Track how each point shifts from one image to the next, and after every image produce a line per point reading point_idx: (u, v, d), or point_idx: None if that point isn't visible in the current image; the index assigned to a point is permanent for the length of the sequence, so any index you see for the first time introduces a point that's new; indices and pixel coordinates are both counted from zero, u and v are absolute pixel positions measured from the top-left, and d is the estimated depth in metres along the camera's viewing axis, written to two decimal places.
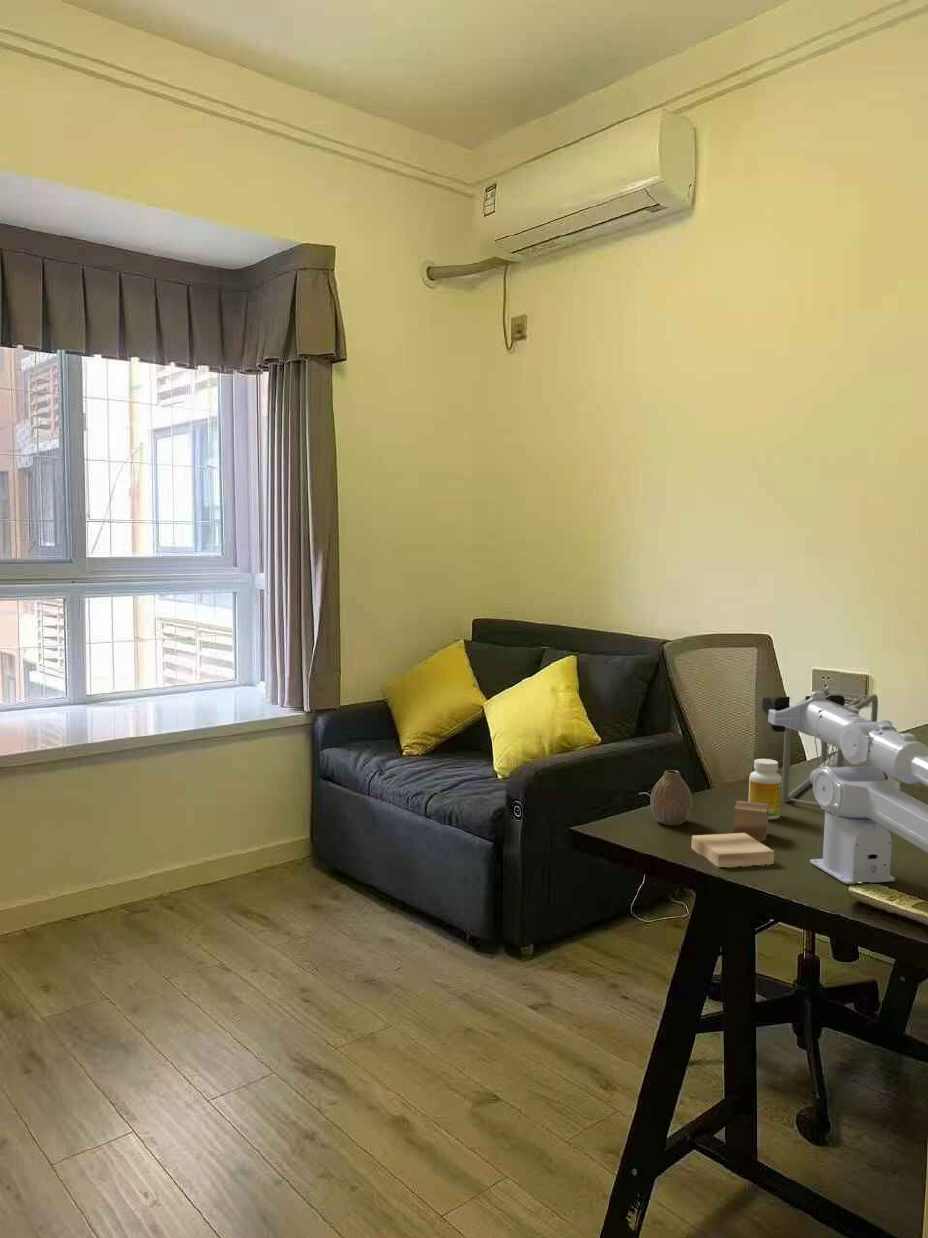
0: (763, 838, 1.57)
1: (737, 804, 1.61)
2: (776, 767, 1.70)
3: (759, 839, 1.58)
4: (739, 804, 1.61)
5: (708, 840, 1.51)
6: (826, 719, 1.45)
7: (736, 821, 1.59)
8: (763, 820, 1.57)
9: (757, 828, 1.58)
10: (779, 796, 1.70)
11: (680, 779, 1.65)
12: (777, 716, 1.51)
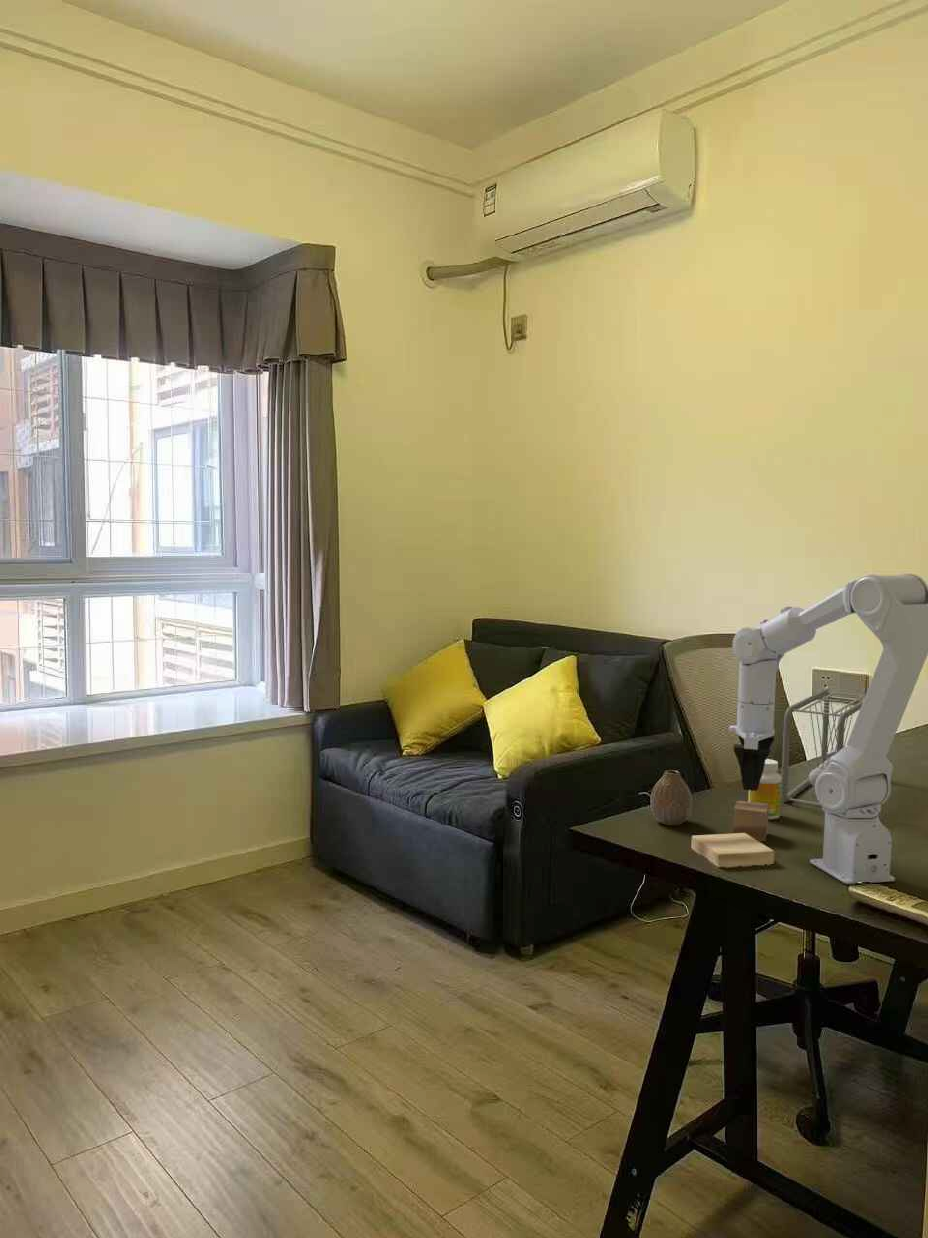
0: (763, 838, 1.57)
1: (737, 804, 1.61)
2: (776, 767, 1.70)
3: (759, 839, 1.58)
4: (739, 804, 1.61)
5: (708, 840, 1.51)
6: (739, 690, 1.58)
7: (736, 821, 1.59)
8: (763, 820, 1.57)
9: (757, 828, 1.58)
10: (779, 796, 1.70)
11: (680, 779, 1.65)
12: None
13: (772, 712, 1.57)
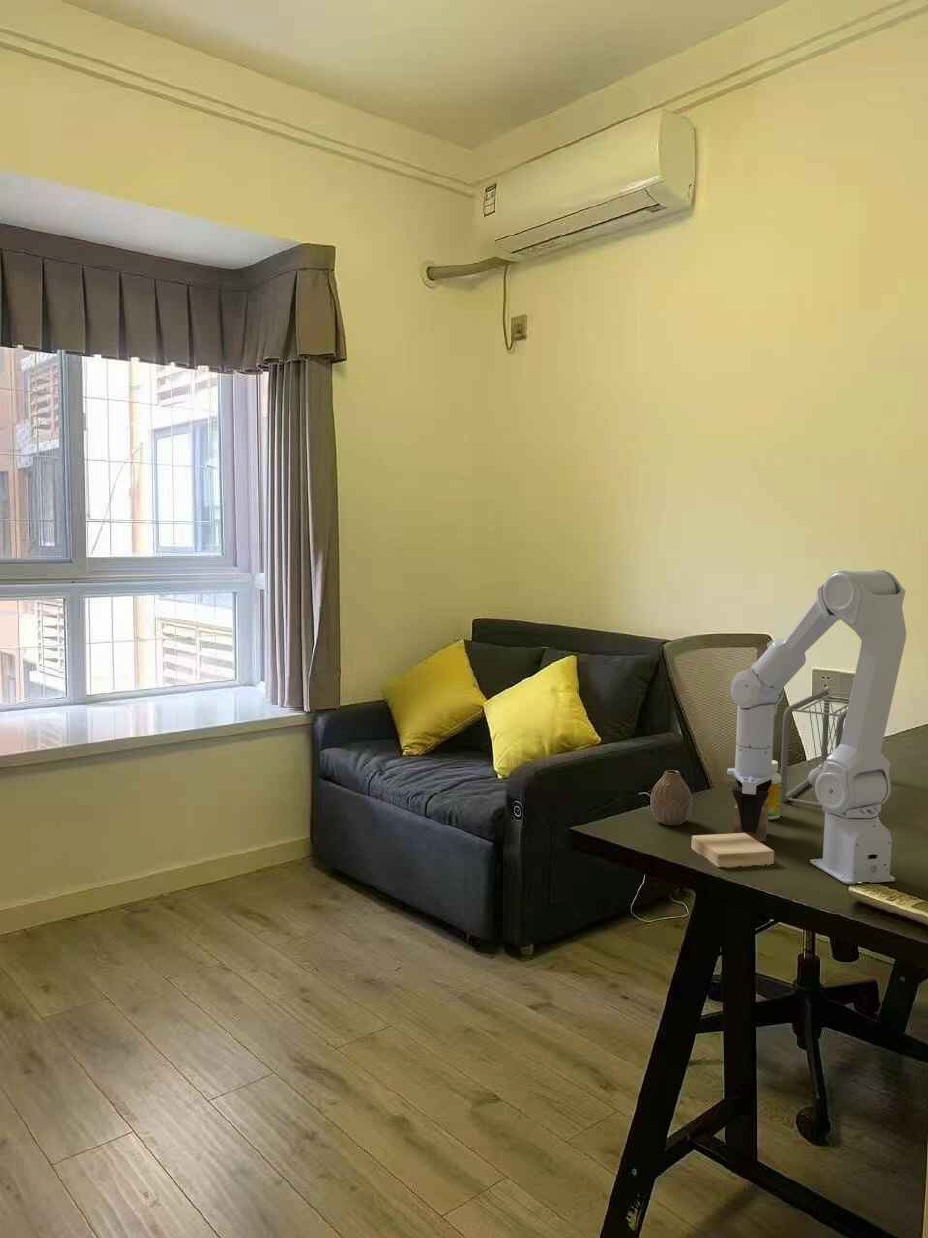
0: (763, 837, 1.57)
1: None
2: (776, 767, 1.70)
3: (759, 838, 1.58)
4: None
5: (708, 840, 1.51)
6: (737, 733, 1.59)
7: (736, 820, 1.59)
8: (763, 819, 1.57)
9: (757, 828, 1.58)
10: (779, 796, 1.70)
11: (680, 779, 1.65)
12: None
13: (770, 756, 1.57)
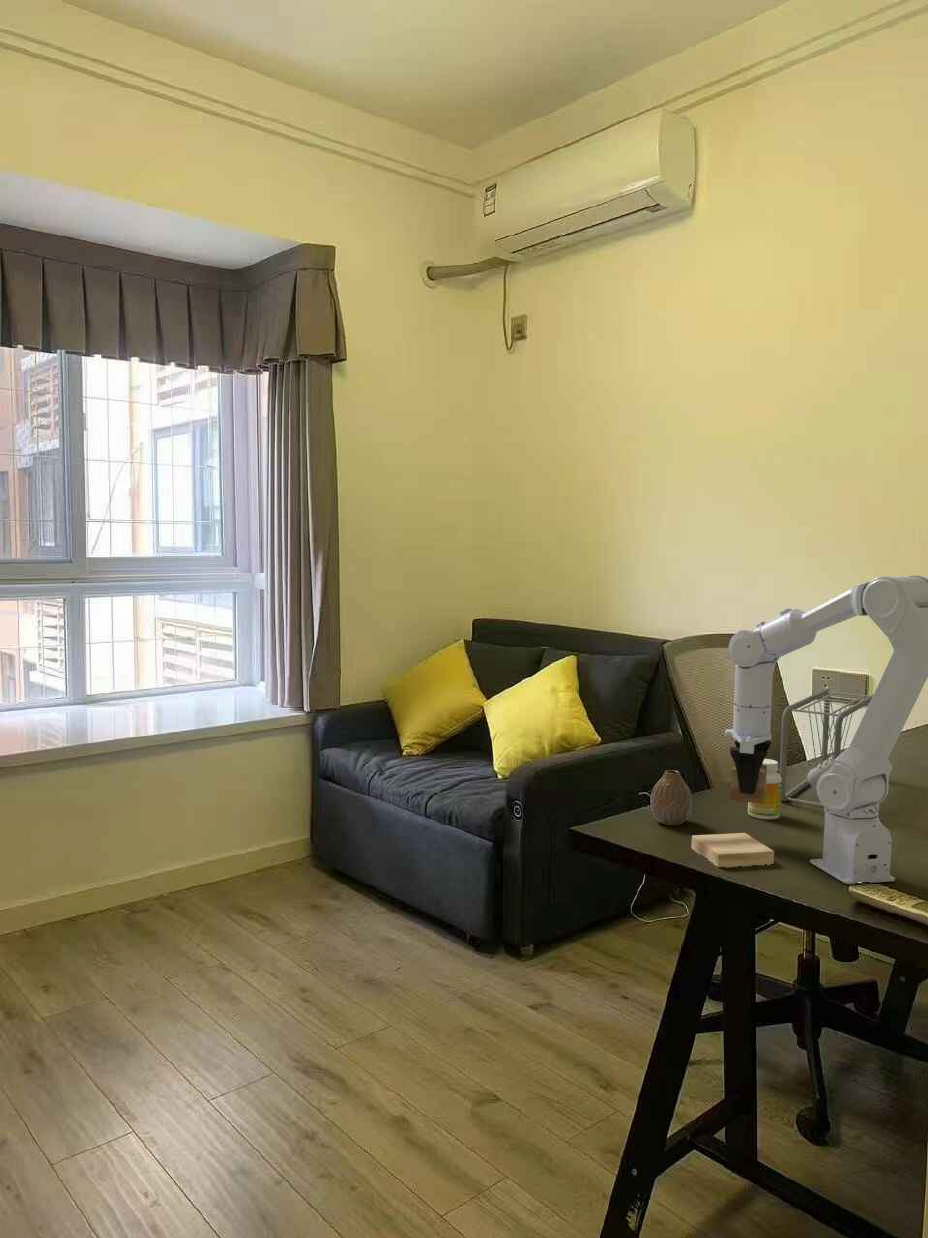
0: (761, 799, 1.54)
1: (735, 766, 1.58)
2: (776, 767, 1.70)
3: (757, 800, 1.55)
4: None
5: (708, 840, 1.51)
6: (735, 694, 1.56)
7: (734, 782, 1.56)
8: (761, 781, 1.54)
9: None
10: (779, 796, 1.70)
11: (680, 779, 1.65)
12: None
13: (768, 716, 1.54)
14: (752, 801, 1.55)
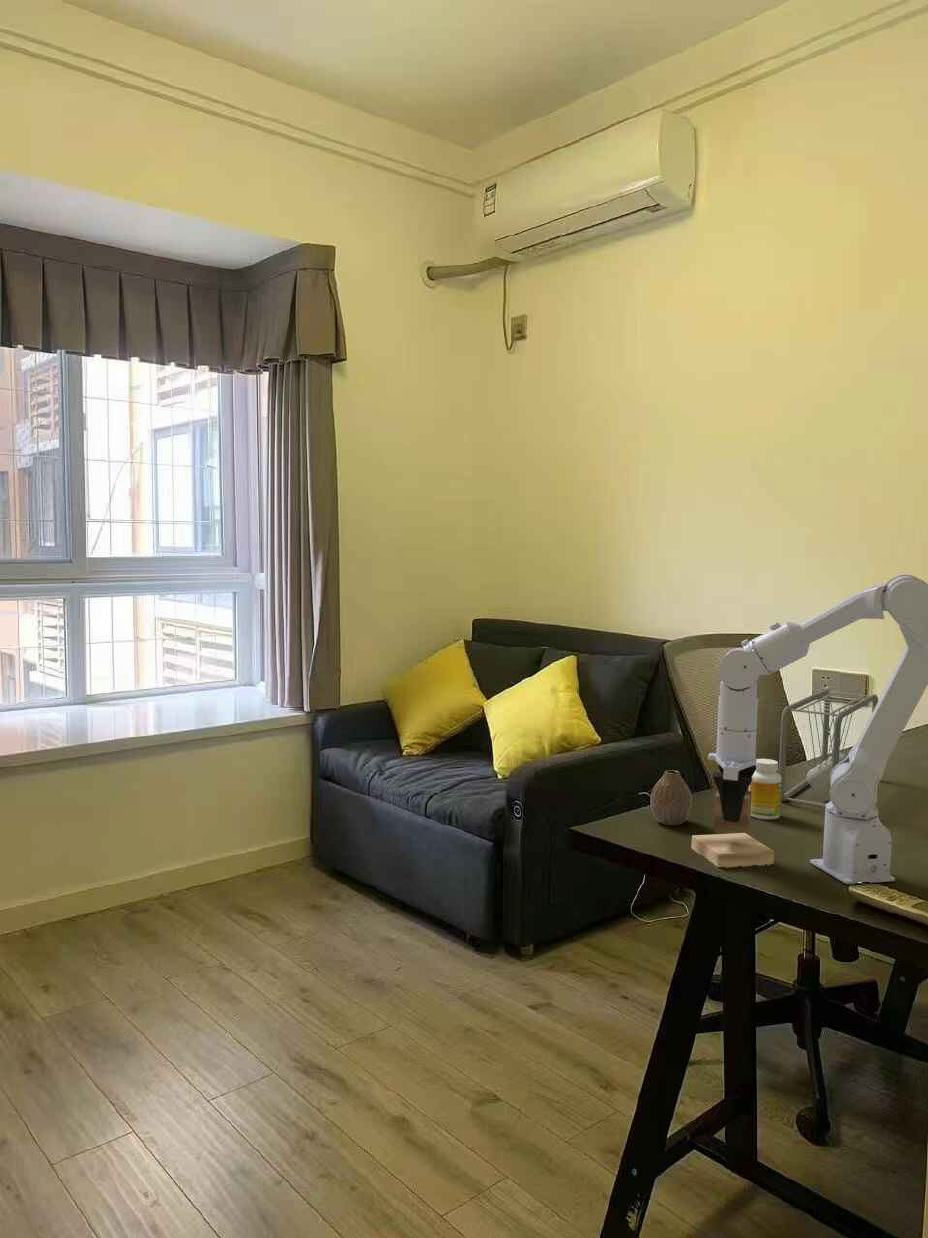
0: (745, 828, 1.47)
1: None
2: (776, 767, 1.70)
3: (741, 829, 1.47)
4: None
5: (708, 840, 1.51)
6: (726, 718, 1.46)
7: (717, 809, 1.48)
8: (745, 808, 1.46)
9: None
10: (779, 796, 1.70)
11: (680, 779, 1.65)
12: None
13: (754, 739, 1.47)
14: (736, 829, 1.47)
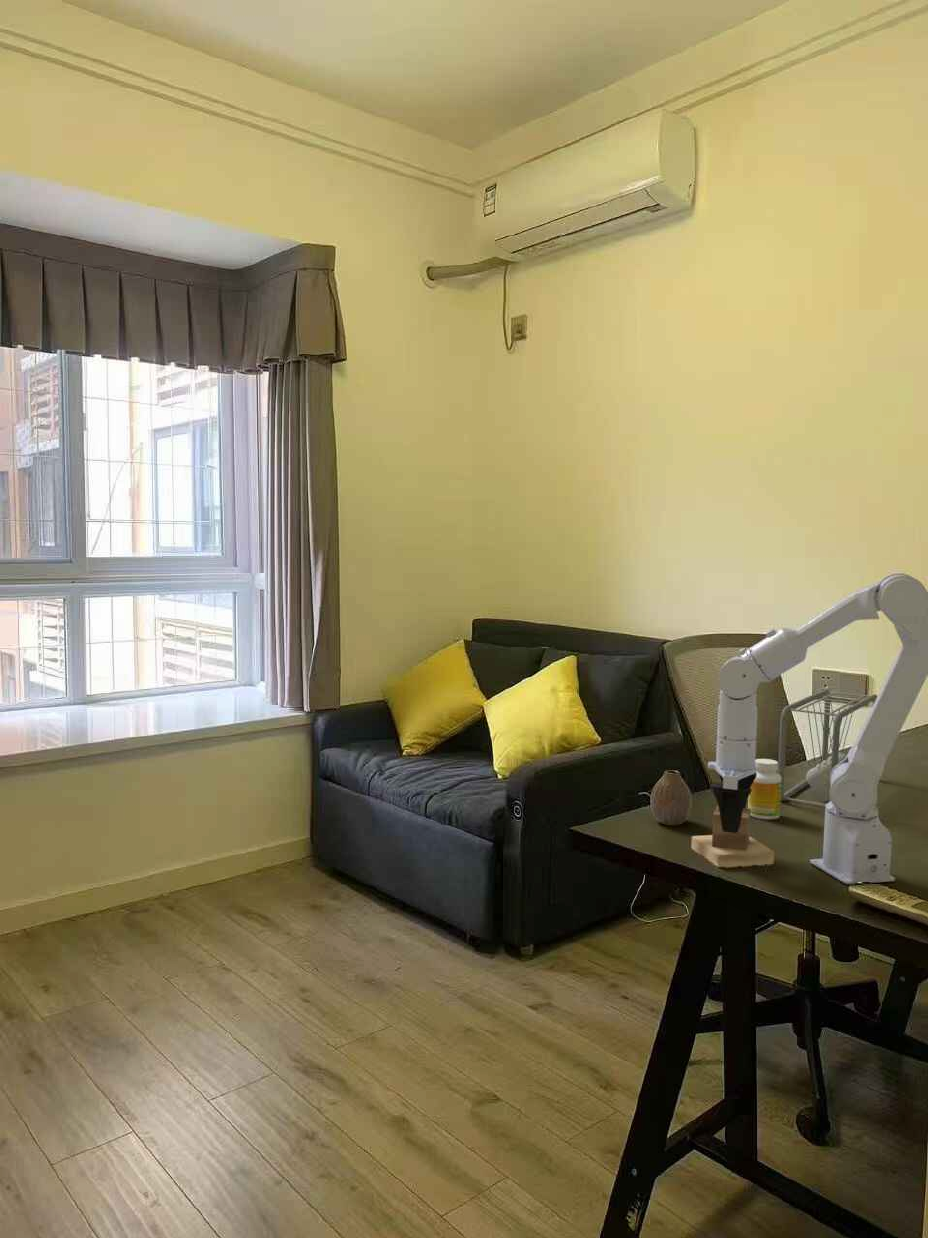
0: (744, 846, 1.47)
1: (717, 809, 1.50)
2: (776, 767, 1.70)
3: (740, 847, 1.47)
4: None
5: (708, 841, 1.51)
6: (725, 727, 1.46)
7: (715, 827, 1.48)
8: (744, 826, 1.46)
9: (737, 836, 1.47)
10: (779, 796, 1.70)
11: (680, 779, 1.65)
12: None
13: (753, 748, 1.47)
14: (735, 848, 1.47)
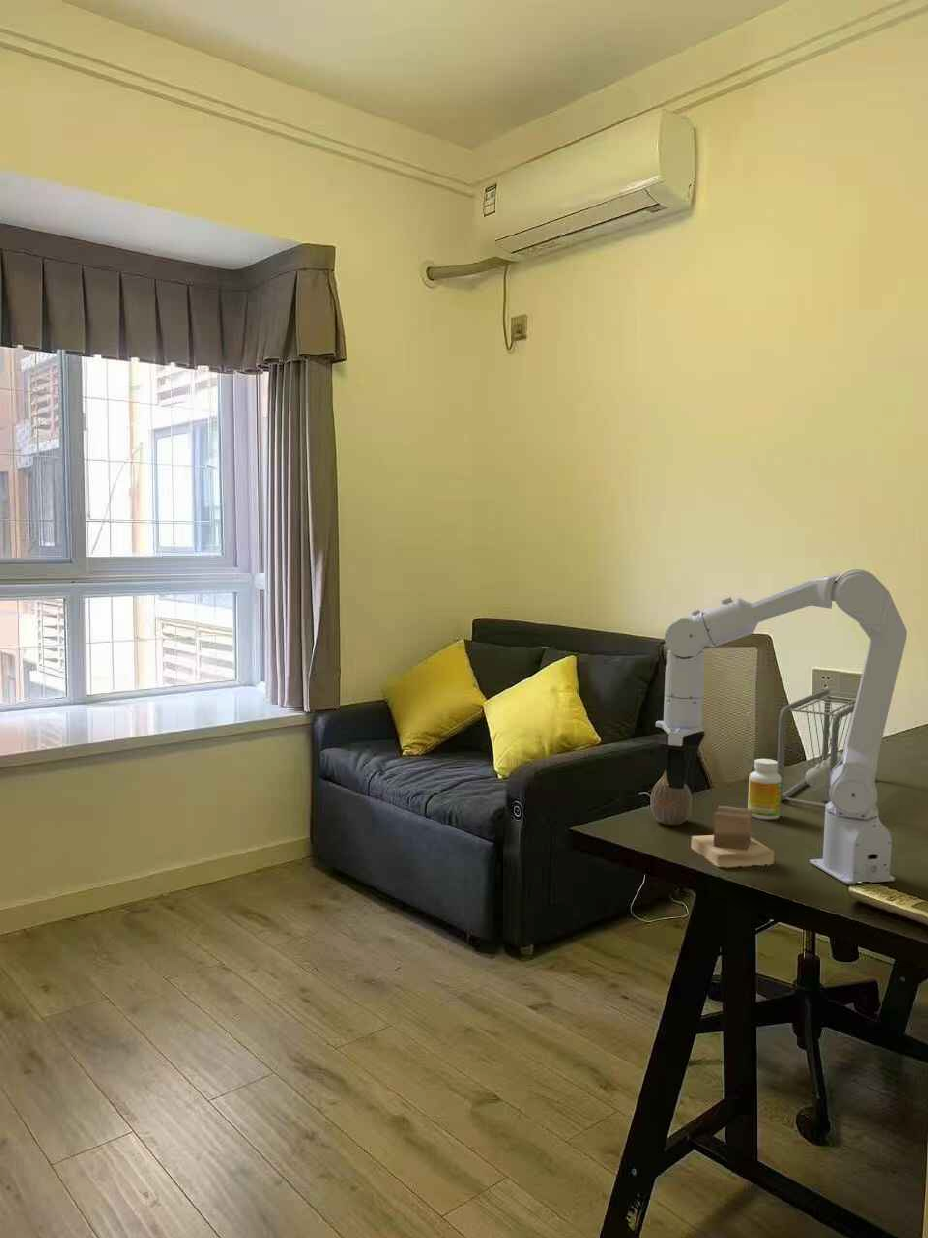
0: (746, 846, 1.47)
1: (718, 809, 1.50)
2: (776, 767, 1.70)
3: (741, 847, 1.47)
4: (721, 809, 1.50)
5: (708, 840, 1.51)
6: (672, 685, 1.49)
7: (717, 827, 1.48)
8: (746, 826, 1.47)
9: (739, 836, 1.47)
10: (779, 796, 1.70)
11: None
12: None
13: (700, 707, 1.49)
14: (736, 848, 1.47)
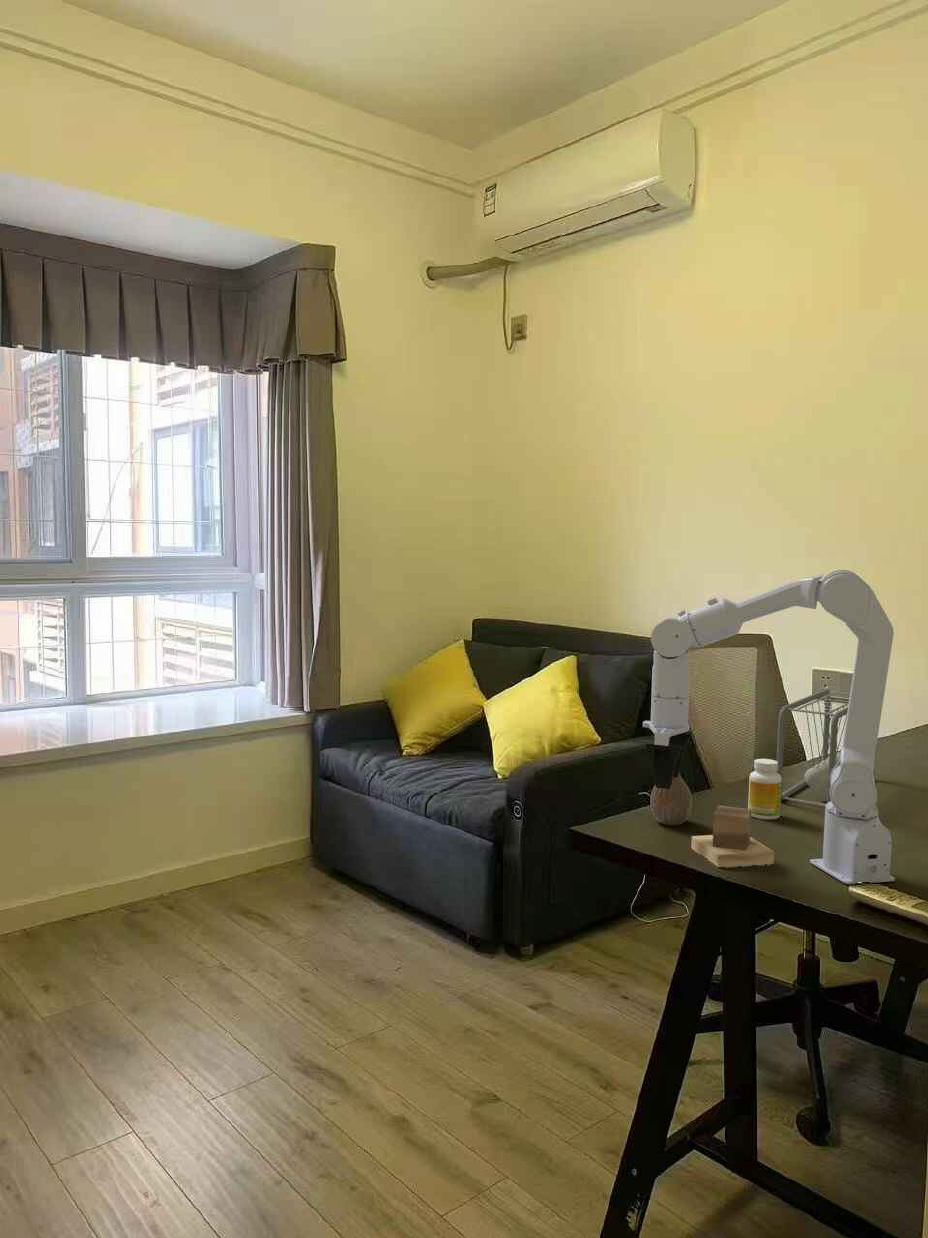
0: (744, 846, 1.47)
1: (718, 809, 1.50)
2: (776, 767, 1.70)
3: (740, 847, 1.47)
4: (720, 809, 1.50)
5: (708, 841, 1.51)
6: (658, 685, 1.49)
7: (716, 827, 1.48)
8: (745, 826, 1.47)
9: (738, 835, 1.47)
10: (779, 796, 1.70)
11: (680, 779, 1.65)
12: None
13: (686, 707, 1.50)
14: (735, 847, 1.47)
